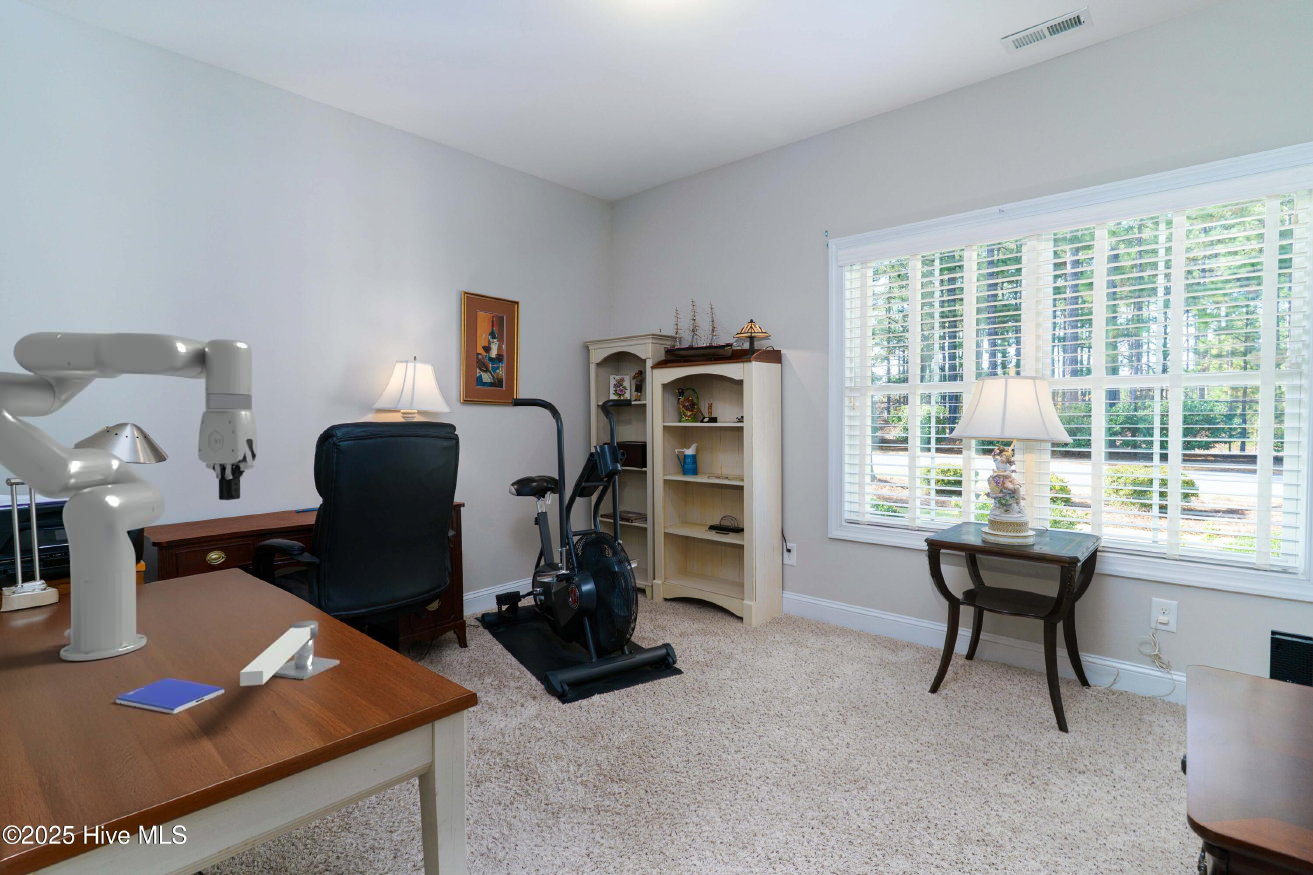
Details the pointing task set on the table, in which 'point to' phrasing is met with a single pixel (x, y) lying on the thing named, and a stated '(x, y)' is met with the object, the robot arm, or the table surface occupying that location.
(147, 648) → the table surface
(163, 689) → the hard drive
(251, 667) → the bar
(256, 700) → the table surface
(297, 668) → the metal stand base
